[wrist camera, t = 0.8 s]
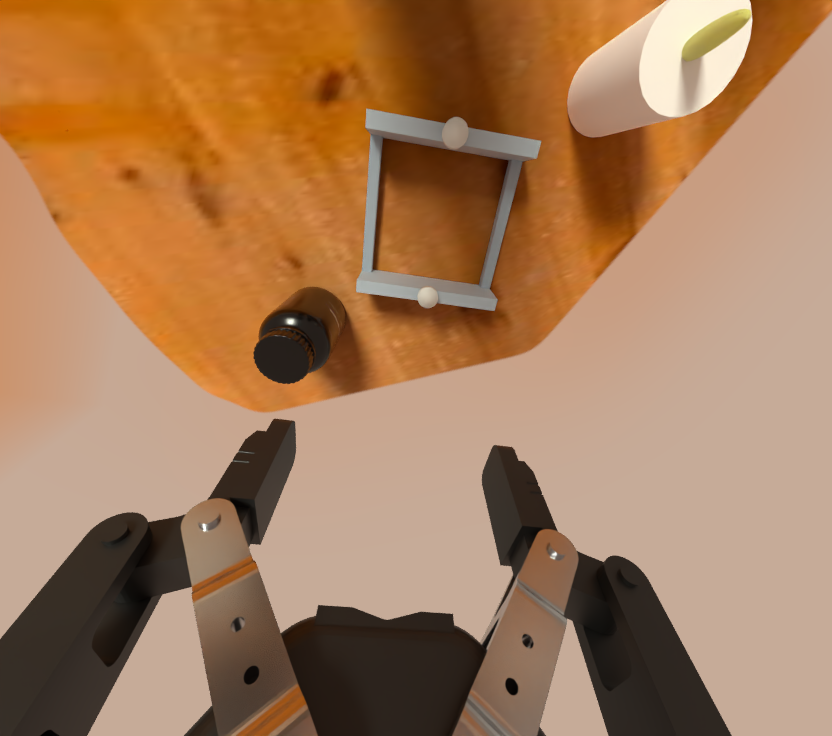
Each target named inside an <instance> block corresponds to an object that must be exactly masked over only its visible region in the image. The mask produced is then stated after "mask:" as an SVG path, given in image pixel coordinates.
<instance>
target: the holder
mask: <svg viewBox="0 0 832 736" xmlns="http://www.w3.org/2000/svg"><path fill="white" fill-rule="evenodd" d="M366 129H367V130H368V131H369V133H370V134H371V139H370V154H369V170H368V186H367V201H366V217H365V232H364V248H363V264H362V272H361V273H360V275H359V277H358V279H357V286H356V292H360V293H368V294H375V295H382V296H389V297H397V298H404V299H411V300H418V302H419V304H420V305H421V306H422V307H424V308H432V307H433V306H435V305H436V304H437V303H440V304H447V305H454V306H462V307H469V308H476V309H483V310H490V311H495V308H496V304H497V300H498V299H497V298H496V297H495V295H494V294H493V293H492V291H491V290H490V286H491V282H492V278H493V274H494V270H495V267H496V263H497V259H498V255H499V251H500V247H501V243H502V240H503V236H504V232H505V228H506V224H507V220H508V216H509V213H510V209H511V205H512V201H513V197H514V193H515V189H516V186H517V182H518V178H519V174H520V170H521V166H522V162H523V161H527V160H532V159H537V155H538V152H539V148H540V144H541V141H539V140H533V139H528V138H523V137H517V136H512V135H506V134H501V133H495V132H490V131H485V130H479V129H474V128H468V125H467V123H466V122H465V121H464V120H463V119H462V118H460V117H453V118H451V119H449V120H448V121H447V122H446V123H441V122H436V121H431V120H425V119H420V118H414V117H409V116H404V115H398V114H393V113H387V112H382V111H377V110H371V109H367V111H366ZM383 138H386V139H392V140H397V141H403V142H409V143H414V144H420V145H425V146H431V147H437V148H442V149H448V150H453V151H459V152H465V153H470V154H476V155H481V156H487V157H493V158H498V159H504V160H509V162H508V166H507V170H506V174H505V179H504V183H503V187H502V191H501V195H500V199H499V203H498V208H497V212H496V216H495V220H494V224H493V228H492V232H491V237H490V241H489V245H488V249H487V253H486V257H485V261H484V266H483V270H482V274H481V278H480V282H479V285H477V284H470V283H463V282H456V281H449V280H442V279H435V278H428V277H421V276H414V275H407V274H400V273H394V272H387V271H380V270H373V258H374V246H375V233H376V220H377V208H378V195H379V183H380V170H381V158H382V145H383Z"/></svg>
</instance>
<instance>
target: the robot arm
mask: <svg viewBox="0 0 832 736" xmlns="http://www.w3.org/2000/svg"><path fill="white" fill-rule="evenodd" d="M295 436H296V433H295V422H294V421H289V420H282V419H274V420H273V421H272V422H271V424H270V426H269V428H268V429H267V431H266V432H265V431H256V432H255V433H253V434H252V435H251V436H249V437H248V438H247V439H245V441H244V443H243V444H242V446H241V448H240V449H239V452H238V453H237V454H236V456H235V457H234V459H233V462H231V464H230V465H229V467H228V468H227V470H226V472H225V473H224V475H223V476H222V478H221V480H220V481H219V483H218V484H217V486H216V488H215V489H214V491H213V493H212V494H211V496H210V497H209V498H208V500H206V501H203V502H201V503H199V504H198V505H196V506H194V507H193V508H192V509H191V510H190V511H189V512H188V513H187V514H185V515H182V516H179V517H175V518H169V519H163V520H158V521H153V522H148V521H147V519H146V518H145V517H144V516H143V515H141V514H139V513H133V512H132V513H122V514H118V515H116V516H113V517H110V518H108V519H106V520H104V521H102V522H101V523H99V524H98V525H96V526H95V527H94V528H93V529H92V530H90V532H89V533H88V534H87V535H86V536H85V537H84V538H83V540H82V541H81V542H80V543H79V545H78V546H77V547H76V548H75V549H74V551H73V552H72V553H71V554H70V555H69V557H68V558H67V559H66V560H65V561H64V563H63V564H62V565H61V566H60V567H59V569H58V570H57V571H56V572H55V573H54V575H53V576H52V577H51V579H50V580H49V581H48V582H47V583H46V584H45V586H44V587H43V588H42V589H41V591H40V592H39V593H38V594H37V595H36V597H35V598H34V599H33V600H32V601H31V603H30V604H29V605H28V606H27V607H26V609H25V610H24V611H23V612H22V613H21V615H20V616H19V617H18V618H17V620H16V621H15V622H14V623H13V624H12V626H11V627H10V628H9V629H8V630H7V632H6V633H5V634H4V635H3V636H2V638H1V639H0V736H87V735H88V733H89V731H90V729H91V727H92V725H93V724H94V722H95V720H96V718H97V716H98V714H99V712H100V710H101V709H102V706H103V705H104V703H105V701H106V699H107V697H108V695H109V693H110V692H111V690H112V688H113V686H114V684H115V682H116V680H117V678H118V677H119V675H120V673H121V671H122V669H123V667H124V665H125V663H126V662H127V660H128V658H129V656H130V654H131V652H132V650H133V648H134V646H135V645H136V643H137V641H138V639H139V637H140V635H141V633H142V631H143V629H144V627H145V626H146V624H147V622H148V620H149V618H150V616H151V615H152V612H153V611H154V609H155V607H156V605H157V603H158V601H159V599H160V598H161V596H162V594H165V593H169V592H173V591H177V590H181V589H184V588H189V587H192V591H193V592H192V599H193V606H194V611H195V616H196V621H197V626H198V632H199V637H200V642H201V648H202V653H203V658H204V664H205V669H206V674H207V679H208V685H209V690H210V695H211V701H212V706H211V707H210V708H209V709H208V711H206V713H205V714H204V715H203V716H202V717H201V718H200V719H199V720H198V721H197V722H196V723H195V724H194V725H193V726H192V728H191V729H190V730H189V731H188V732H187V733H186V734H185V735H184V736H546V735H545V734H544V732H543V731H542V729H541V728H540V727H539V726H540V722H541V718H542V715H543V711H544V707H545V704H546V700H547V696H548V693H549V689H550V685H551V681H552V677H553V674H554V670H555V666H556V662H557V659H558V655H559V651H560V647H561V644H562V640H563V636H564V633H565V629H566V624H567V619H570V620H572V621H573V624H574V627H575V630H576V633H577V636H578V639H579V643H580V646H581V649H582V652H583V655H584V659H585V662H586V665H587V668H588V672H589V675H590V678H591V681H592V684H593V687H594V690H595V694H596V697H597V700H598V703H599V707H600V710H601V713H602V716H603V719H604V722H605V726H606V729H607V732H608V735H609V736H731V734H730V732H729V730H728V728H727V727H726V724H725V722H724V721H723V719H722V717H721V716H720V713H719V711H718V709H717V708H716V706H715V704H714V702H713V700H712V698H711V696H710V695H709V693H708V691H707V689H706V687H705V685H704V683H703V681H702V680H701V678H700V676H699V674H698V672H697V670H696V668H695V666H694V664H693V663H692V661H691V659H690V657H689V655H688V654H687V652H686V650H685V648H684V646H683V644H682V642H681V640H680V638H679V636H678V635H677V633H676V631H675V629H674V627H673V625H672V623H671V621H670V620H669V618H668V616H667V614H666V612H665V610H664V609H663V607H662V605H661V603H660V601H659V599H658V597H657V595H656V593H655V592H654V590H653V588H652V586H651V584H650V582H649V580H648V579H647V577H646V576H645V574H644V573H643V572H642V571H641V570H640V569H639V568H638V567H637V566H636V565H635V564H634V563H632V562H631V561H629V560H627V559H625V558H623V557H620V556H610V557H608V558H607V559H606V560H605V561H604V562H602V561H599V560H597V559H594V558H592V557H589V556H587V555H584V554H582V553H580V552H578V551H576V549H575V547H574V545H573V544H572V543H571V541H570V540H569V539H568V538H567V537H565V536H564V535H563V534H561V533H559V532H558V531H557V529H556V526H555V524H554V521H553V519H552V516H551V514H550V512H549V509H548V507H547V504H546V502H545V499H544V497H543V495H542V492H541V490H540V487H539V486H538V482H537V480H536V478H535V475H534V473H533V471H532V470H531V469H530V468H529V467H528V465H527V464H526V463H525V462H524V461H518V458H517V456H516V453H515V450H514V449H513V448H512V447H506V446H497V445H494V446H493V447H492V449H491V452H490V454H489V457H488V460H487V462H486V465H485V467H484V470H483V474H482V486H483V490H484V495H485V499H486V503H487V508H488V512H489V516H490V521H491V525H492V529H493V534H494V538H495V543H496V547H497V551H498V556H499V560H500V565H504V566H511V567H512V571H513V576H512V577H511V579H510V581H509V584H508V586H507V588H506V590H505V592H504V594H503V597H502V599H501V601H500V603H499V605H498V608H497V610H496V612H495V614H494V616H493V618H492V620H491V622H490V625H489V626H488V628H487V630H486V632H485V634H484V636H483V638H482V640H481V642H480V643H479V642H478V641H477V640H476V639H475V638H474V637H473V636H472V635H470V634H469V633H468V632H466V631H465V630H463V629H461V628H459V627H457V626H454V621H453V614H445V613H430V612H418V613H414V614H411V615H406V616H403V617H399V618H394V619H390V620H384V619H381V618H379V617H376V616H373V615H371V614H368V613H365V612H363V611H360V610H358V609H355V608H352V607H338V606H323V605H318V610H317V614H316V616H314V617H310V618H307V619H304V620H302V621H300V622H298V623H296V624H294V625H292V626H291V627H289V628H288V629H286V630H285V631H283V632H282V633H280V630H279V627H278V625H277V622H276V619H275V616H274V613H273V610H272V607H271V604H270V601H269V599H268V596H267V593H266V590H265V587H264V584H263V581H262V578H261V576H260V573H259V570H258V567H257V564H256V562H255V561H253V559H252V556H251V553H250V550H249V546H250V544H259V545H260V544H261V542H262V540H263V537H264V535H265V532H266V530H267V527H268V525H269V522H270V520H271V517H272V515H273V512H274V510H275V508H276V505H277V503H278V500H279V498H280V495H281V493H282V490H283V488H284V485H285V483H286V481H287V478H288V476H289V473H290V471H291V468H292V466H293V463H294V459H295V453H296V437H295Z"/></svg>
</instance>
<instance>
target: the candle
mask: <svg viewBox="0 0 832 736" xmlns="http://www.w3.org/2000/svg"><path fill="white" fill-rule="evenodd" d="M751 27H752V11H751V3H750V0H667V1H665V2H664V3H662V4H661V5H660V6H658V7H657V8H655V9H654V10H653V11H651V12H650V13H648V14H647V15H646V16H644V17H643V18H642V19H640V20H639V21H637V22H636V23H635V24H633V25H632V26H630V27H629V28H628V29H626V30H625V31H624V32H622V33H621V34H619V35H618V36H617V37H615V38H614V39H612V40H611V41H610V42H608V43H607V44H605V45H604V46H603V47H601V48H600V49H599V50H597V51H596V52H594V53H593V54H592V55H590V56H589V57H588V58H587V59H586V60H585V61H584V62H583V64H582V65H581V66H580V67H579V69H578V70H577V72H576V74H575V76H574V77H573V80H572V83H571V86H570V89H569V93H568V100H567V106H568V115H569V118H570V121H571V123H572V125H573V126H574V128H575V129H576V130H577V131H578V132H579V133H581V134H582V135H584V136H587V137H591V138H594V137H603V136H607V135H611V134H615V133H619V132H623V131H627V130H631V129H635V128H639V127H643V126H647V125H651V124H655V123H659V122H662V121H666V120H670V119H674V118H678V117H682V116H685V115H688V114H691V113H694V112H696V111H698V110H700V109H701V108H703V107H704V106H706V105H707V104H709V103H710V102H711V101H712V100H713V99H714V98H716V97H717V96H718V95H719V94H720V93H721V92H722V91H723V90H724V88H725V87H726V86H727V84H728V83H729V82H730V80H731V79H732V78H733V76H734V75H735V73H736V71H737V69H738V68H739V66H740V64H741V62H742V60H743V58H744V55H745V52H746V49H747V46H748V43H749V40H750V35H751Z"/></svg>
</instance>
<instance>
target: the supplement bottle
mask: <svg viewBox="0 0 832 736" xmlns="http://www.w3.org/2000/svg"><path fill="white" fill-rule="evenodd" d="M345 321H346V316H345V311H344V308H343V306H342V304H341V302H340V301H339V300H338V298H337V297H336V296H335V295H333V294H332V293H331V292H329V291H327V290H325V289H322V288H318V287H306V288H303V289H300V290H298V291H297V292H295V293H294V294H293V295H292V296H290V297H289V298H288V299H287V300H286V301H284V302H283V303H282V304H281V305H280V306H279V307H277V308H276V309H275V310H274V311H273V312H272V313H270V314H269V315H268V316H267V317H266V318H265V320H264V321H263V323H262V324H261V327H260V330H259V342H258V343H257V344H256V347H255V348H254V350H255V351H254V359H255V364H256V365H257V368H258V369H259V371H260V372H261V373H263V375H264V376H266V377H267V378H268V379H271V380H272V381H276V382H278V383H283V384H286V383H287V384H290V383H295V382H298V381H300V380H301V379H303V378H304V377H305V376H306V375H307V374H308V373H311V372H314V371H316V370H318V369H319V368H321V367H322V366H323V365H324V364H325V363H326V362H327V360H328V359H329V357H330V355H331V353H332V351H333V349H334V347H335V345H336V343H337V341H338V339H339V337H340V335H341V333H342V331H343V329H344V326H345Z"/></svg>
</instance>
